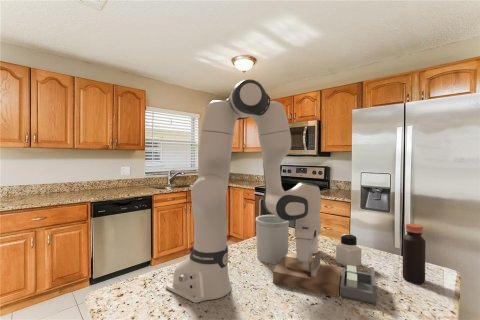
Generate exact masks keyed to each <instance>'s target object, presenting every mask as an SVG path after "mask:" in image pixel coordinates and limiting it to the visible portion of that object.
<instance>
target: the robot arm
mask: <svg viewBox="0 0 480 320" xmlns="http://www.w3.org/2000/svg"><path fill="white" fill-rule="evenodd" d="M248 118H251V119H252V120H253V121H254V123H255V125H256V126H257V134H258V139H259V140H258V141H259V145H260V151H261V158H262V168H263V176H264V177H263V179H264V187H265V188H264V194H263V197H262V205H263V207H264V209H265V211H266V212H267V213H268V214H269V215H275V216H277V217H279V218H280V219H282V220H286V221H289V222H290V221H291V222H292V221H295V229H294V233H293V235H294V237H295V248H296V250H295V251H296V255H297V259H298V261H300V262H303V268H304V269H309V259H310V257H312V258H313V254H314V253H313V251H314V249H315V246H316V244H317V235H318V236H319V235H321V233H322V231H321V230H322V227H321V226H322V224H321V223H322V218H321V214H320V213H321V209H322V199H321V196H322V195H321V190H320V187H319V186H318V185H317V184H315V183H314V184H313V183H309V182H304V181H302V182H301V181H300V182H298V183H297V184H296V185H295V186H293V187H292V188H290V189H288V190H286V191H285V190H284V188H283V186H282V176H281V164H282V161H283V160H284V158H285V157H287V156H288V154H289V153H290V151H291V149H292V136H291V130H290V124H289V123H290V122H289V120H288V119H289V118H288V116H287V112H286V110H285V107H284V105H283V104H282V103H281V102H280V101H279V102H278V101H276V100H271V97H270V95H269V94H268V93H267V92H266V89H264V87H263V85H262V84H261V83H260V82H259V81H257V80H254V79H250V78H249V79H244V80H242V81H239V82H238V83H237V84H236V85H235V86H234V88H233V89H232V91H231V93H230V94H229V97H228V98H227V99H225V100H221V99H219V100H215V99H214V100H212V101H210V102H209V103H207V106H206V107H205V110H204V115H203V118H202V123H201V130H200V137H199V138H200V139H199V145H198V153H197V154H198V172H197V173H198V174H197V179H196V180H195V181H194V182H193V184H192V186H191V190H190V198H191V200H190V201H191V211H192V217H193V218H192V219H193V243H194V244H193V245H192V246H191V247H190V248H188V249H187V254H189V256H188V257H187V258H185V260H183V261H182V262H181V263H180V264H178V265H177V266H176V267H175V269H174V270H173V271H174V273H173V276H172V277H171V278H170V279H169V280H168V281H167V283H166V285H165V289H166V290H168V291H170V292H172V293H175V294H176V295H178V296H180V297H183V298H184V299H186V300H188V301H190V302H192V303H200V302H201V303H202V302H203V301H209V300H215V299H216V300H217V299H219V298H220V299H221V298H223V297H225V296H226V295H228V294H229V293H230V292H231V290H232V284H231V279H230V275H229V269H228V267H229V266H228V262H229V246H228V245H227V244H228V233H227V232H228V221H227V194H228V189H229V187H228V186H229V179H230V168H231V161H232V160H231V158H232V150H233V143H234V142H233V141H234V134H235V126H236V123H237V121H238V120H239V121H240V120H245V119H248Z"/></svg>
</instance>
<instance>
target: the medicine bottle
mask: <svg viewBox="0 0 480 320" xmlns="http://www.w3.org/2000/svg"><path fill="white" fill-rule="evenodd" d="M357 240H358V239H357V236H355V235H354V234H352V233H351V234H350V233H343V234H340V244H336V246H335V247H336V250H335V261H336V263H338V264H341V265H342V266H344V267H345V268H347V265H351V266H356V267H359V266H360V267H361V266H362V248H361V247H359V246H357V245H358V243H357Z"/></svg>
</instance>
